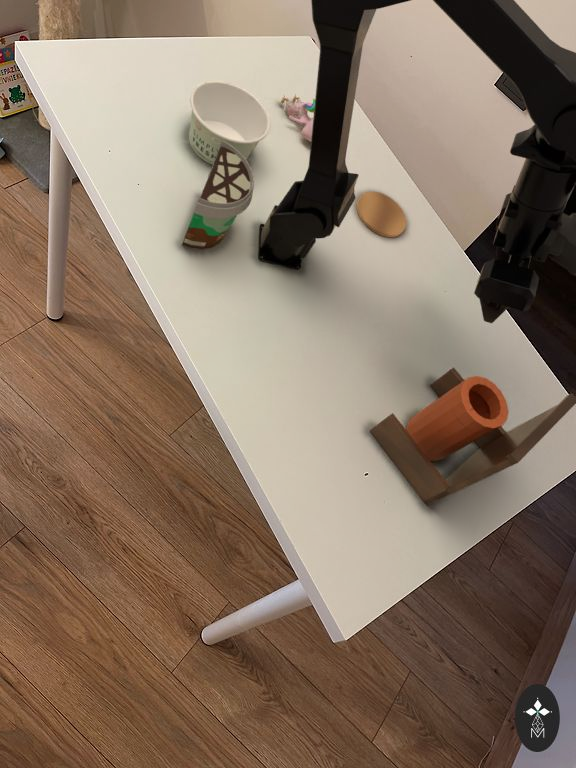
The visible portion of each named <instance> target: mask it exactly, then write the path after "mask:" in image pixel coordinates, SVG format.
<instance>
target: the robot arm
mask: <svg viewBox="0 0 576 768" xmlns="http://www.w3.org/2000/svg"><path fill="white" fill-rule="evenodd" d="M310 1H311V2H310V3H311V16H312V23H313V27H314V30H315V33H316V37H317V39H318V43H319V57H318V68H317V78H316V87H315V88H316V89H315V97H314V99H315V107H314V112H313V117H312V118H313V128H312V138H311V142H310V149H309V158H308V159H309V160H308V167H307V170H306V173H305V175H304V177H303V180H296V181H294V183H293V184H292V185H291V186H290V187H289V189H288V191H287V192H286V194H285V195H284V196H283V198H282V200H280V202H279V204H278V205H277V204H275V205H274V206H273V208H272V210H271V212H270V213H269V215H268V217H267V219H266V221H265V223H260V224H259V225H258V235H257V236H258V238H257V259H258V260H259V261H261V262H264V263H267V264H272V265H276V266H279V267H283V268H287V269H290V270H295V271H301V269H302V260H305V259H306V257H307V256H308V254H309V253H310V251H311V249H312V248H313V247H314V245H315V244H316V242H317V240H318V239H325V238H327V237H330V236H331V235H332V234H333V232H334V231H335V228H336V227H337V228H340V227H341V224H342V223H343V221H344V219H345V218H346V216H347V214H348V213H349V211H350V209H351V207H352V205H353V204H354V203H355V200H356V194H355V187H356V184H357V182H358V178H359V174H358V173H353V172H349V170H348V167H347V164H346V162H347V161H346V158H347V152H348V144H349V139H350V132H351V125H352V120H353V119H352V118H353V111H354V106H355V99H356V92H357V86H358V79H359V72H360V68H361V67H360V66H361V60H362V54H363V47H364V46H363V45H364V41H365V39H366V37H367V34H368V32H369V30H370V27H371V24H372V22H373V19H374V16H375V14H376V13H377V10H379V9H385V8H387V7H392V6H394V5H398V4H399V5H400V4H402V3H406V2H411V1H412V0H310ZM432 2H433V3H435V4H436V5H437V7H438V8H440V10H441V11H443V12H444V13H445V15H446V16H447V17H448V18H449V19H450V20H451V21H452V22H453V23H454V24H455V25H456V26H457V27H458V28H459V29H460V30H461V31H462V32H463V33H464V34H465V35H466V37H467V38H468V39H470V40H471V41H472V42H473V44H475V46H476V47H478V49H479V50H480V51H481V52H482V53H483V54H484V55H485V56H486V57H487V58H488V59H489V60H490V61H491V62H492V63H493V65H495V66H496V67H497V68H498V69H499V70H500V71H501V72H502V73H503V75H505V76H506V78H507V79H508V80H510V82H512V84H513V85H514V87H515V88H516V89H517V91H518V92H519V95H520V96H521V98H522V99H521V100H522V101H523V103H524V106H525V109H526V110H527V113H528V115H529V118H530V120H531V122H533V125H532V126H531V127H529V128H528V129H525V130H522V131H520V132H517V133H516V134H515V135H514V138H513V141H512V144H511V147H510V150H509V153H510V155H512V156H516V157H518V158H523V159H525V160H524V161H523V165H522V167H521V171H520V172H519V175H518V177H517V180H516V183H515V184H513V187H512V190H511V192H510V193H507V194H506V195H505V197H504V200H503V203H502V205H501V208H500V212H499V214H498V218H497V221H496V225H495V236H494V240H493V242H492V246H494V247H496V258H493V259H491V260H489V261H486V262H484V263H483V266H482V268H481V271H480V273H479V277H478V279H477V283H476V285H475V289H474V292H473V294H474V295H475V296H476V297H477V298H478V299H479V303H480V308H481V314H482V318H483V319H482V320H483V321H484V322H486V323H489V324H493V323H495V322H496V320H497V319H498V318H499V317H500V316H502V314H504V313H505V312H506V311H507V310H508V309H513V310H516V311H520V312H525V311H528V310H530V309H531V306H532V304H533V302H534V300H535V298H536V293H537V290H538V284H539V282H540V277H539V276H538V274H537V273H536V271H535V269H532V268H530V263H531V259H533V260H534V261H537V262H541V263H545V261H546V259H547V258H548V257H549V258H550V259H551V260H552V261H553V262H555V263H557V264H558V265H560V266H561V267H563V268H564V269H566V270H568V273H569V274H571V275H572V276H574V277H575V276H576V212H572V213H571V214H570V215H568V214H566V213H565V210H566V207H567V202H568V201H569V198H570V197H571V195H572V192H573V190H574V189H575V186H576V52H575V51H572V50H571V49H567V48H565V47H562V46H560V45H559V44H557V43H556V42H555V41H553V40H552V39H550V37H549V36H548V35H547V33H545V32H544V31H543V30H542V29H541V28H540V26H539V25H538V24H537V23H536V22H535V21H534V20H533V19H532V18H531V16H529V15H528V13H527V12H526V11H525V10H524V9H523V8H522V7H521V6H520V5H519V3H517V1H516V0H432Z"/></svg>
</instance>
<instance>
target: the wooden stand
mask: <svg viewBox="0 0 576 768" xmlns="http://www.w3.org/2000/svg"><path fill="white" fill-rule="evenodd" d="M464 380H465V379H464V378H463V377H462V375H461V374H460V373H459V372H458V370H457V369H456V368H455V367H452V368H451V369H449V370H448V371H446V372H445V373H444V374H442V375H441V376H439V377H438V378H437V379H436V380H435V381H433V382H432V383H431V384H430V385H429V386H430V388H432V390H433V391H434V392H435V393H436V395H437V396H438V397H439V398H440V397H442V396H443V395H444V394H446V393H447V392H449V391H450V390H451V389H453V388H454V387H456V386H457V385H458V384H460V383H461V382H463V381H464ZM575 405H576V396H575V395H574V394H573V393H569V394H567V395H566V396H565V397H564V398H563V399H562V400H561V401H560V402H558V404H556V405H554V406H552V407H551V408H549V409H547V410H545V411H543V412H541V413H539V414H537V415H536V416H534V417H532V418H530V419H529V420H526V421H524V422H523V423H521V424H519V425H517V426H515V427H514V428H512V429H510V430H508V431H506V429H504V428H503V425H502V426H501V427H499V428H497V429H495V430H494V431H492V432H490V433H488V434H487V435H485V436H483V437H481V438H479V439H478V440H476V441H474V442H475V444H476V445H477V446H478V447H479V448H478V449H477V450H476V451H475V452H474V453H473V454H472V455H470V456H469V457H468V458H467V460H465V461H464V462H463V463H461V465H459V466H458V468H456V469H455V470H454V471H453V472H452V473H451V474H450V475H449V476H447V477H446V478H444V477H443V475H442V474H441V473H440V472H439V471H438V469H437V468H436V467H435V465H434V464H433V462H432V461H430V460H429V459H428V458H427V456H426V455H425V454H424V452H423V451H422V450H421V449H420V447H419V446H418V445H417V443H416V442H415V441H414V440H413V438H412V437H411V436H410V434H409V433H408V432H407V428H405V426H403V424H402V423H401V422H400V420H399V419H398V418H397V416H396V415H395V414H394V413H393V412H391V414H389V415H388V416H387V417H386V418H384V419H383V420H381V421H380V422H378V423H377V424H376V425H374V426H373V427H372V428H371V429H369V432H370V434H371V435H372V437H374V439H375V440H376V441H377V443H378V444H379V445H380V447H381V448H382V449H383V450H384V452H385V453H386V455H388V457H389V458H390V460H391V461H392V463H394V465H395V466H396V468H397V469H398V470H399V471H400V472H401V474H402V476H403V477H404V478H405V479H406V480H407V482H408V483H409V484H410V486H411V487H412V488H413V490H414V491H415V493H417V495H418V497H420V499H421V500H422V501H423V502H424V504H425V505H426V506H429V505H432V504H434V503H436V502H438V501H440V500H442V499H445V498H447V497H449V496H451V495H453V494H455V493H458V492H459V491H461V490H464V489H466V488H468V487H470V486H472V485H474V484H476V483H478V482H481V481H483V480H485V479H487V478H489V477H491V476H493V475H495V474H497V473H500V472H501V471H504V470H506V469H509V468H510V467H513V466H515V465H516V464H519V463H520V462H521V461H522V460H523V458H525V456H527V454H528V453H530V451H531V450H533V448H534V447H535V446H536V445H537V444H538V443H539V442H540V441H541V440H542V439H543V438H544V437H545V436H546V435H547V434H548V433H549V432H550V431H551V430H552V429H553V428H554V427H555V426H556V425H557V424H558V423H559V422H560V421H561V420H562V419H563V418H564V416H565V415H566V414H567V413H568V412H569V411H570V410H572V408H573V407H574V406H575Z"/></svg>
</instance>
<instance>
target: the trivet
mask: <svg viewBox="0 0 576 768" xmlns="http://www.w3.org/2000/svg"><path fill="white" fill-rule="evenodd" d="M356 211H357V214H358V217H359V218H360V220H361V221H362V223H363V224H364V225H365V226H366V227H367V228H368V229H369V230H371V231H372V232H373V233H375V234H377V235H379V236H381V237H385V238H395V237H398V236H400V235H402V234H403V232H404V231H405V230H406V227H407V218H406V214H405V212H404V211H403V208H402V207H401V206H400V205H399V204H398V202H396V201H395V200H394V199H393V198H391V197H390V196H388V195H387V194H384V193H382V192H379V191H367V192H364V193H363V194H361V195H360V197H359V199H357V203H356Z"/></svg>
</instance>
